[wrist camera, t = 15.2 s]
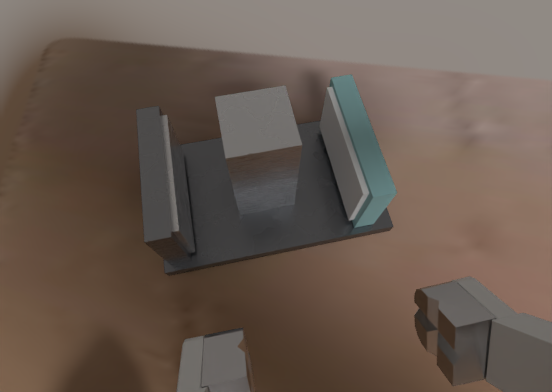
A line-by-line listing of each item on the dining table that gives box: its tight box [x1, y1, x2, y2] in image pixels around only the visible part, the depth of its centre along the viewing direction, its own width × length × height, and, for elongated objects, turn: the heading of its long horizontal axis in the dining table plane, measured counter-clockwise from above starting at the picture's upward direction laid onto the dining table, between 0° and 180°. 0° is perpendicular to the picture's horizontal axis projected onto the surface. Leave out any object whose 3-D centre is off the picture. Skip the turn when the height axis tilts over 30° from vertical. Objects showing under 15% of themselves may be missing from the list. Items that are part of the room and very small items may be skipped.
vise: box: [136, 106, 393, 276], centre depth 27 cm, size 18×11×7 cm, turn 102°
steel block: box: [215, 86, 302, 215], centre depth 26 cm, size 4×4×9 cm
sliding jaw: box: [319, 75, 397, 228], centre depth 27 cm, size 2×10×6 cm, turn 12°
